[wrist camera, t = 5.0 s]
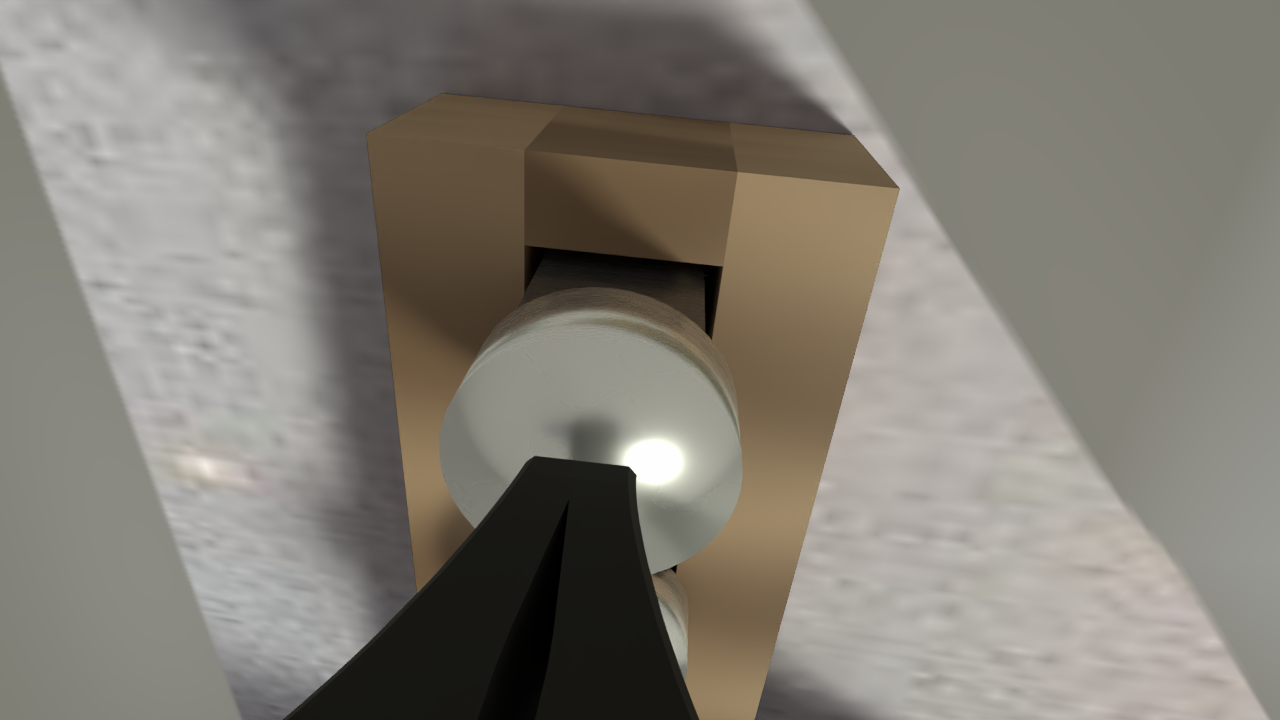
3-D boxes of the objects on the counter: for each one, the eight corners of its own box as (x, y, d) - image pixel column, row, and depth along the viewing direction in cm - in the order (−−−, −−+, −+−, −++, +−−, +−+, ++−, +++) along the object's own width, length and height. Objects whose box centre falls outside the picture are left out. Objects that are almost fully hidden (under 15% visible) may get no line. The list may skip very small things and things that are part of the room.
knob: (713, 402, 16) (719, 594, 11) (522, 380, 16) (447, 563, 11) (744, 216, 14) (767, 356, 9) (523, 193, 14) (428, 320, 9)
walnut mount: (718, 721, 26) (721, 840, 22) (475, 692, 26) (440, 806, 22) (854, 135, 15) (899, 188, 12) (441, 93, 15) (365, 133, 12)
